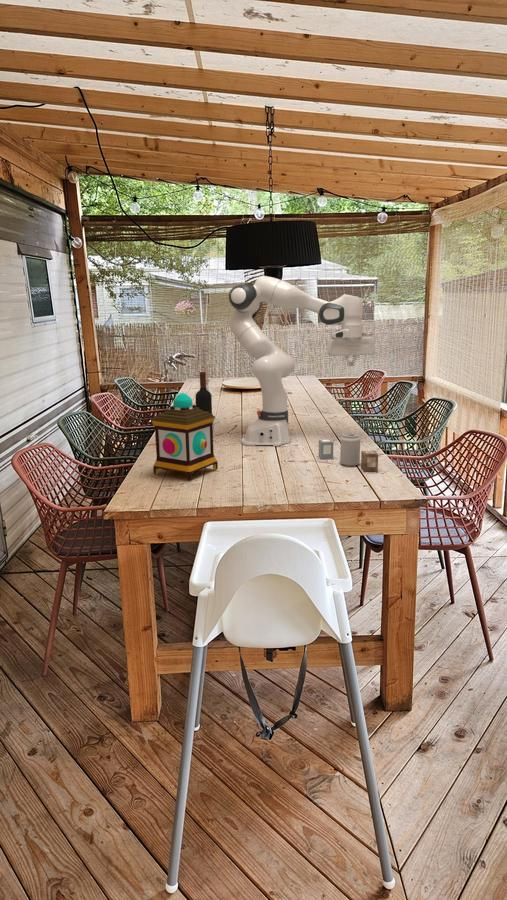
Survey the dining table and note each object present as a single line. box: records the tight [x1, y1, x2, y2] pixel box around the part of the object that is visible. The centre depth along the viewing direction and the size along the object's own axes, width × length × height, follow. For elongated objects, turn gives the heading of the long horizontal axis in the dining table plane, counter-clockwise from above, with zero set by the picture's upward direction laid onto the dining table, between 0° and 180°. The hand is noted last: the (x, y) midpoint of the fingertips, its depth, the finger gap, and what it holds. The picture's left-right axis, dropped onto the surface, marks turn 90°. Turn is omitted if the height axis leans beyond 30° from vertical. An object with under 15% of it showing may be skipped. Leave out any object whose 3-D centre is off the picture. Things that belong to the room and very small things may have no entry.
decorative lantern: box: [151, 392, 219, 482], centre depth 215 cm, size 20×20×30 cm
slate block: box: [318, 438, 334, 460], centre depth 235 cm, size 5×5×7 cm
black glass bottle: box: [203, 365, 221, 425], centre depth 304 cm, size 13×13×30 cm
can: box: [339, 432, 361, 467], centre depth 224 cm, size 8×8×12 cm
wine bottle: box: [195, 371, 213, 414], centre depth 275 cm, size 8×8×30 cm
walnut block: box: [360, 450, 379, 474], centre depth 216 cm, size 5×5×7 cm
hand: (350, 365), depth 250 cm, fingers closed
